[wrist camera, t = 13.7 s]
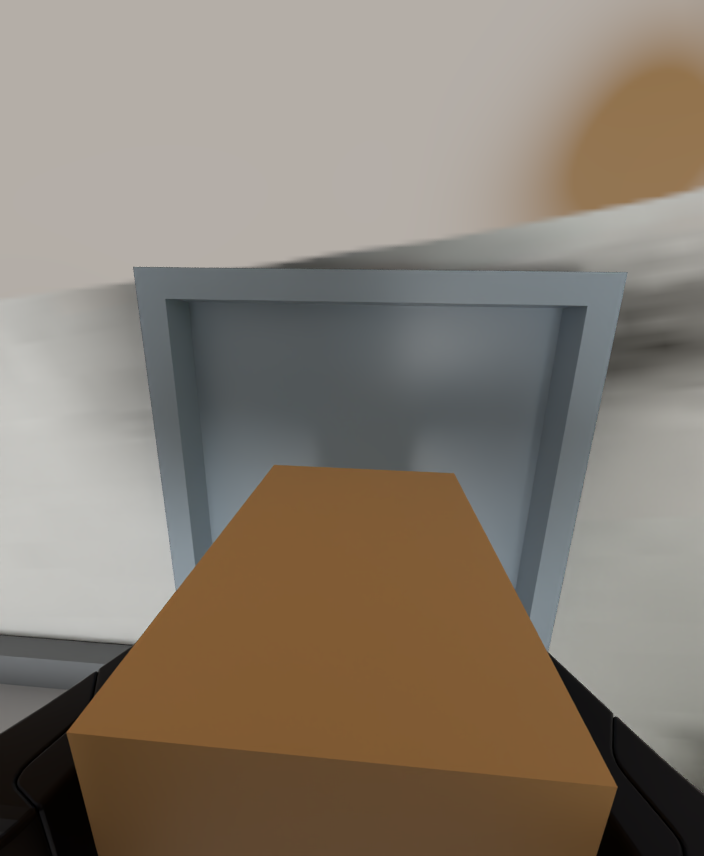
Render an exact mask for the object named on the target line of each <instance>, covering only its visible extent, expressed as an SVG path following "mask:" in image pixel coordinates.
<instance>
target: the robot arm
mask: <svg viewBox="0 0 704 856" xmlns="http://www.w3.org/2000/svg"><path fill="white" fill-rule="evenodd" d="M134 645H135V644H134ZM134 645H132V646H131V647H129V648H128V649H126V650H125V651H123V652H122V653H121V654H119V655H118V656H116V657H115V658H113V659H112V660H110V661H109V662H108V663H106V664H105V665H103V666H102V667H100V668H99V670H98V672H97V671H95V672H93V673H92V674H90V675H89V676H87V677H86V678H84V679H83V680H81V681H80V682H79V683H77V684H76V685H74V686H73V687H71V688H70V689H68V690H67V691H65V692H64V693H62V694H61V695H59V696H58V697H56V698H55V699H53V700H52V701H50V702H49V703H47V704H46V705H44V706H43V707H41V708H40V709H38V710H36V711H35V712H33V713H32V714H30V715H29V716H27V717H25V718H24V719H22V720H21V721H19V722H17V723H16V724H14V725H13V726H11V727H9V728H8V729H6V730H5V731H3V732H1V733H0V856H98V853H97V849H96V845H95V841H94V838H93V834H92V830H91V826H90V822H89V818H88V814H87V810H86V807H85V803H84V799H83V795H82V791H81V787H80V783H79V779H78V776H77V772H76V768H75V764H74V760H73V756H72V752H71V748H70V745H69V741H68V737H67V733H66V732H67V731H68V730H69V729H70V727H71V726H72V725H73V723H74V722H75V721H76V720H77V718H78V717H79V716H80V714H81V713H82V712H83V711H84V709H85V708H86V707H87V705H88V704H89V703H90V701H91V700H92V699H93V698H94V696H95V695H96V694H97V692H98V691H99V690H100V689H101V687H102V686H103V685H104V683H105V682H106V681H107V680H108V678H109V677H110V676H111V674H112V673H113V672H114V671H115V669H116V668H117V667H118V665H119V664H120V663H121V661H122V660H123V659H124V658H125V656H126V655H127V654H128V652H129V651H130V650H131V649H132V647H133V646H134ZM548 654H549V653H548ZM549 656H550V658H551V660H552V662H553V664H554V666H555V668H556V670H557V672H558V674H559V675H560V677H561V679H562V681H563V683H564V685H565V687H566V689H567V691H568V693H569V695H570V697H571V698H572V700H573V702H574V704H575V706H576V708H577V710H578V712H579V714H580V716H581V718H582V720H583V721H584V723H585V725H586V727H587V729H588V731H589V733H590V735H591V737H592V739H593V741H594V743H595V744H596V746H597V748H598V750H599V752H600V754H601V756H602V758H603V760H604V762H605V764H606V766H607V768H608V769H609V771H610V773H611V775H612V777H613V779H614V781H615V783H616V785H617V787H618V788H617V791H616V794H615V797H614V801H613V804H612V807H611V810H610V813H609V817H608V820H607V823H606V826H605V829H604V833H603V836H602V839H601V842H600V846H599V849H598V852H597V855H596V856H704V794H703V793H702V792H701V791H699V790H698V789H697V788H696V787H695V786H694V785H692V784H691V783H690V782H689V781H688V780H687V779H685V778H684V777H683V776H682V775H681V774H680V773H678V772H677V771H676V770H675V769H674V768H672V767H671V766H670V765H669V764H668V763H667V762H666V761H665V760H664V759H662V758H661V757H660V756H659V755H658V754H657V753H656V752H655V751H654V750H653V749H651V748H650V747H649V746H648V745H647V744H646V743H645V742H644V741H643V740H642V739H640V738H639V737H638V736H637V735H636V734H635V733H634V732H633V731H632V730H631V729H630V728H629V727H628V726H626V725H625V724H624V723H623V722H622V721H621V720H620V719H619V718H618V717H614V718H613V713H612V712H611V711H610V710H609V709H608V708H607V707H606V706H605V705H604V704H603V703H602V702H601V701H600V700H599V699H597V698H596V697H595V696H594V695H593V694H592V693H591V692H590V691H589V690H588V689H587V688H586V687H585V686H584V685H583V684H581V683H580V682H579V681H578V680H577V679H576V678H575V677H574V676H573V675H572V674H571V673H570V672H569V671H568V670H567V669H565V668H564V667H563V666H562V665H561V664H560V663H559V662H558V661H557V660H556V659H555V658H554V657H553V656H552V655H551V654H549Z"/></svg>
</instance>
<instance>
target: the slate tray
mask: <svg viewBox="0 0 704 856" xmlns="http://www.w3.org/2000/svg"><path fill="white" fill-rule="evenodd" d="M133 269H134V277H135V285H136V293H137V300H138V308H139V315H140V323H141V330H142V338H143V346H144V353H145V361H146V368H147V376H148V383H149V391H150V398H151V406H152V414H153V421H154V429H155V436H156V444H157V451H158V459H159V467H160V474H161V482H162V489H163V497H164V504H165V512H166V519H167V527H168V535H169V542H170V550H171V557H172V565H173V572H174V580H175V588H176V591H177V589H178V588H179V587H180V585H181V584H182V583H183V582H184V580H185V579H186V578H187V576H188V575H189V574H190V572H191V571H192V570H193V569H194V567H195V566H196V565H197V563H198V562H199V561H200V560H201V558H202V557H203V556H204V554H205V553H206V552H207V551H208V549H209V548H210V547H211V545H212V544H213V543H214V542H215V540H216V539H217V538H218V536H219V535H220V534H221V533H222V531H223V530H224V529H225V527H226V526H227V525H228V523H229V522H230V521H231V520H232V518H233V517H234V516H235V514H236V513H237V512H238V511H239V509H240V508H241V507H242V505H243V504H244V503H245V502H246V500H247V499H248V498H249V496H250V495H251V494H252V493H253V491H254V490H255V489H256V487H257V486H258V485H259V483H260V482H261V481H262V480H263V478H264V477H265V476H266V474H267V473H268V472H269V471H270V469H271V468H272V467H273V465H289V466H310V467H332V468H353V469H375V470H396V471H418V472H439V473H454V474H455V476H456V478H457V480H458V482H459V484H460V485H461V487H462V489H463V491H464V493H465V495H466V497H467V499H468V501H469V503H470V505H471V507H472V509H473V510H474V512H475V514H476V516H477V518H478V520H479V522H480V524H481V526H482V528H483V530H484V532H485V533H486V535H487V537H488V539H489V541H490V543H491V545H492V547H493V549H494V551H495V553H496V555H497V556H498V558H499V560H500V562H501V564H502V566H503V568H504V570H505V572H506V574H507V576H508V578H509V579H510V581H511V583H512V585H513V587H514V589H515V591H516V593H517V595H518V597H519V599H520V601H521V603H522V604H523V606H524V608H525V610H526V612H527V614H528V616H529V618H530V620H531V622H532V624H533V626H534V627H535V629H536V631H537V633H538V635H539V637H540V639H541V641H542V643H543V645H544V647H545V649H546V650H547V652H548V650H549V645H550V641H551V636H552V631H553V626H554V622H555V617H556V612H557V607H558V602H559V598H560V593H561V588H562V583H563V579H564V574H565V569H566V564H567V559H568V555H569V550H570V545H571V540H572V536H573V531H574V526H575V521H576V516H577V512H578V507H579V502H580V497H581V493H582V488H583V483H584V478H585V473H586V469H587V464H588V459H589V454H590V450H591V445H592V440H593V435H594V430H595V426H596V421H597V416H598V411H599V407H600V402H601V397H602V392H603V387H604V383H605V378H606V373H607V368H608V363H609V359H610V354H611V349H612V344H613V340H614V335H615V330H616V325H617V320H618V316H619V311H620V306H621V301H622V297H623V292H624V287H625V282H626V277H627V273H628V272H552V271H459V270H366V269H273V268H179V267H174V268H173V267H133Z"/></svg>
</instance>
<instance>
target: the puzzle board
mask: <svg viewBox="0 0 704 856" xmlns="http://www.w3.org/2000/svg"><path fill="white" fill-rule="evenodd" d="M129 647H131V646H130V645H118V644H105V643H92V642H80V641H67V640H55V639H42V638H29V637H17V636H4V635H0V733H1V732H3V731H5V730H6V729H8V728H9V727H11V726H13V725H14V724H16V723H17V722H19V721H21V720H22V719H24V718H25V717H27V716H29V715H30V714H32V713H33V712H35V711H36V710H38V709H40V708H41V707H43V706H44V705H46V704H47V703H49V702H50V701H52V700H53V699H55V698H56V697H58V696H59V695H61V694H62V693H64V692H65V691H67V690H68V689H70V688H71V687H73V686H74V685H76V684H77V683H79V682H80V681H81V680H83V679H84V678H86V677H87V676H89V675H90V674H92V673H93V672H95V671H97V672H98V670H99V668H100V667H102V666H103V665H105V664H106V663H108V662H109V661H110V660H112V659H113V658H115V657H116V656H118V655H119V654H121V653H122V652H123V651H125V650H126V649H128V648H129Z"/></svg>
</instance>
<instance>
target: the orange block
mask: <svg viewBox="0 0 704 856" xmlns="http://www.w3.org/2000/svg"><path fill="white" fill-rule="evenodd" d="M66 733H67V737H68V741H69V745H70V748H71V752H72V756H73V760H74V764H75V768H76V772H77V776H78V779H79V783H80V787H81V791H82V795H83V799H84V803H85V807H86V810H87V814H88V818H89V822H90V826H91V830H92V834H93V838H94V841H95V845H96V849H97V853H98V856H596V855H597V852H598V849H599V846H600V842H601V839H602V836H603V833H604V829H605V826H606V823H607V820H608V817H609V813H610V810H611V807H612V804H613V801H614V797H615V794H616V791H617V788H618V787H617V785H616V783H615V781H614V779H613V777H612V775H611V773H610V771H609V769H608V768H607V766H606V764H605V762H604V760H603V758H602V756H601V754H600V752H599V750H598V748H597V746H596V744H595V743H594V741H593V739H592V737H591V735H590V733H589V731H588V729H587V727H586V725H585V723H584V721H583V720H582V718H581V716H580V714H579V712H578V710H577V708H576V706H575V704H574V702H573V700H572V698H571V697H570V695H569V693H568V691H567V689H566V687H565V685H564V683H563V681H562V679H561V677H560V675H559V674H558V672H557V670H556V668H555V666H554V664H553V662H552V660H551V658H550V656H549V654H548V652H547V650H546V649H545V647H544V645H543V643H542V641H541V639H540V637H539V635H538V633H537V631H536V629H535V627H534V626H533V624H532V622H531V620H530V618H529V616H528V614H527V612H526V610H525V608H524V606H523V604H522V603H521V601H520V599H519V597H518V595H517V593H516V591H515V589H514V587H513V585H512V583H511V581H510V579H509V578H508V576H507V574H506V572H505V570H504V568H503V566H502V564H501V562H500V560H499V558H498V556H497V555H496V553H495V551H494V549H493V547H492V545H491V543H490V541H489V539H488V537H487V535H486V533H485V532H484V530H483V528H482V526H481V524H480V522H479V520H478V518H477V516H476V514H475V512H474V510H473V509H472V507H471V505H470V503H469V501H468V499H467V497H466V495H465V493H464V491H463V489H462V487H461V485H460V484H459V482H458V480H457V478H456V476H455V474H454V473H439V472H418V471H396V470H375V469H353V468H332V467H310V466H289V465H273V467H272V468H271V469H270V471H269V472H268V473H267V474H266V476H265V477H264V478H263V480H262V481H261V482H260V483H259V485H258V486H257V487H256V489H255V490H254V491H253V493H252V494H251V495H250V496H249V498H248V499H247V500H246V502H245V503H244V504H243V505H242V507H241V508H240V509H239V511H238V512H237V513H236V514H235V516H234V517H233V518H232V520H231V521H230V522H229V523H228V525H227V526H226V527H225V529H224V530H223V531H222V533H221V534H220V535H219V536H218V538H217V539H216V540H215V542H214V543H213V544H212V545H211V547H210V548H209V549H208V551H207V552H206V553H205V554H204V556H203V557H202V558H201V560H200V561H199V562H198V563H197V565H196V566H195V567H194V569H193V570H192V571H191V572H190V574H189V575H188V576H187V578H186V579H185V580H184V582H183V583H182V584H181V585H180V587H179V588H178V589H177V591H176V592H175V593H174V594H173V596H172V597H171V598H170V600H169V601H168V602H167V603H166V605H165V606H164V607H163V609H162V610H161V611H160V612H159V614H158V615H157V616H156V618H155V619H154V620H153V622H152V623H151V624H150V625H149V627H148V628H147V629H146V631H145V632H144V633H143V634H142V636H141V637H140V638H139V640H138V641H137V642H136V643H135V645H134V646H133V647H132V649H131V650H130V651H129V652H128V654H127V655H126V656H125V658H124V659H123V660H122V661H121V663H120V664H119V665H118V667H117V668H116V669H115V671H114V672H113V673H112V674H111V676H110V677H109V678H108V680H107V681H106V682H105V683H104V685H103V686H102V687H101V689H100V690H99V691H98V692H97V694H96V695H95V696H94V698H93V699H92V700H91V701H90V703H89V704H88V705H87V707H86V708H85V709H84V711H83V712H82V713H81V714H80V716H79V717H78V718H77V720H76V721H75V722H74V723H73V725H72V726H71V727H70V729H69V730H68V731H67V732H66Z"/></svg>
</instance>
